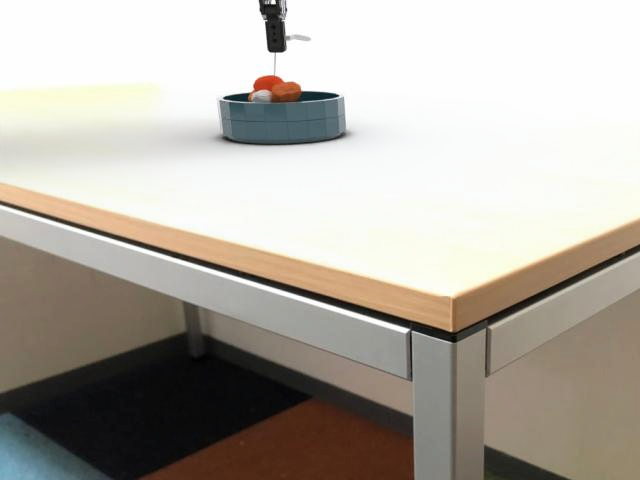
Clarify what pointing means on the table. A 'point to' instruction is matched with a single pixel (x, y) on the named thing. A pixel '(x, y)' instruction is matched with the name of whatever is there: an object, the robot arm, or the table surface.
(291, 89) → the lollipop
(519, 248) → the table surface
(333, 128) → the bowl
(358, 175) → the table surface
